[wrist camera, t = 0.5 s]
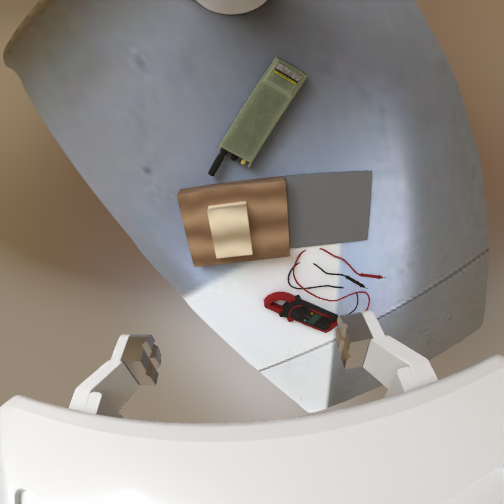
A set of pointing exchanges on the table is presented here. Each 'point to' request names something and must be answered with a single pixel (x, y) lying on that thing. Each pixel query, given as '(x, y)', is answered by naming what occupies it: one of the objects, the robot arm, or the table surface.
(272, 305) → the digital clamp meter
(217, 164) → the handheld radio
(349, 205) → the mat
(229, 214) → the tile
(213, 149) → the table surface
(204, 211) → the platform
